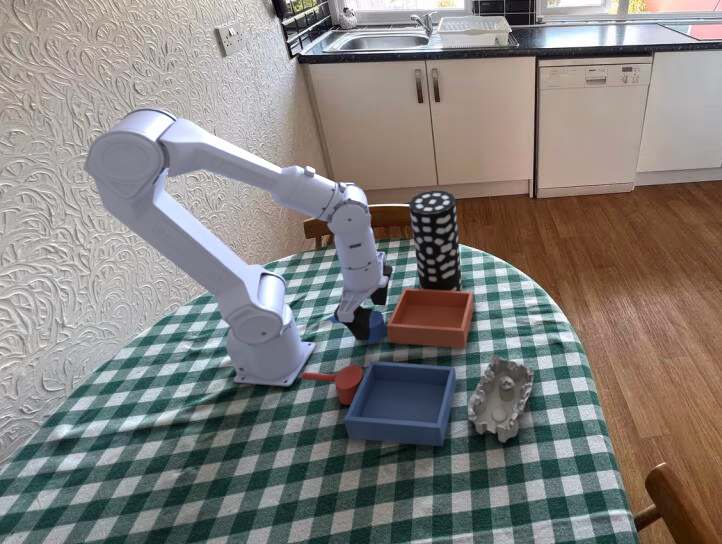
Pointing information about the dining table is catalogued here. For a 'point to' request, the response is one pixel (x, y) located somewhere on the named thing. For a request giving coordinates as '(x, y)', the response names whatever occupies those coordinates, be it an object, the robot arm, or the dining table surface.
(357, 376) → the red ladle-shaped piece
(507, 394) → the egg carton
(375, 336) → the blue cylinder with handle
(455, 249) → the black white spotted cylinder
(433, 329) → the red bin
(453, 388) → the blue bin
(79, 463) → the dining table surface
